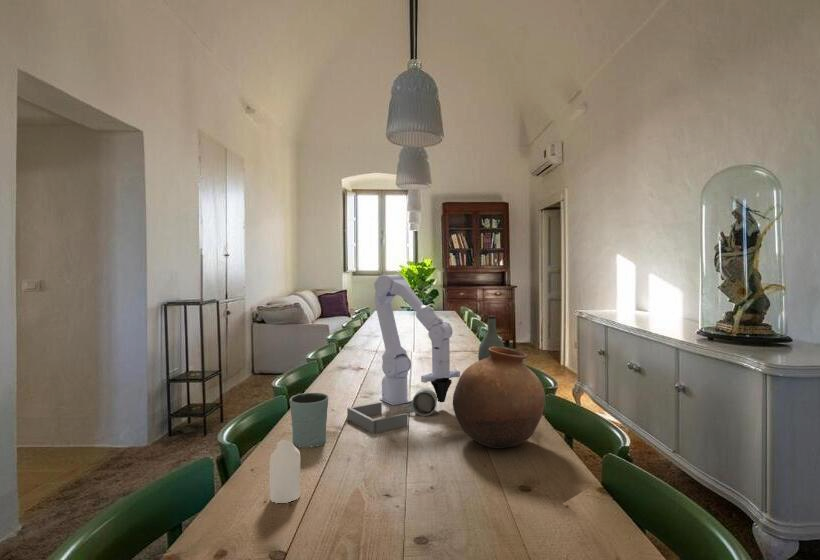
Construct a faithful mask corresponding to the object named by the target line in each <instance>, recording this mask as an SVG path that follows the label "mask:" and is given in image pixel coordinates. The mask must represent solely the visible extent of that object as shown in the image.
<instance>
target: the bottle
mask: <svg viewBox="0 0 820 560" xmlns="http://www.w3.org/2000/svg"><path fill="white" fill-rule="evenodd" d="M496 317H497V316H496V315H493V314H491V315H490V314H489V315H487V333H486V334H485V336H484V337H483V339H482V340H481V342H480V344H479V346H478V353H477V357H478V361H480V360H483V359H485V358H488V357H490V356H491V353H490V352H489V350H488V349H489V348H490V347H502V348H506V347H505V344H504V342H503V341H502V340H501V338H500V336H499V335H498V332H497V330H496V329H497V326H496V325H497V323H496V321H497V319H496Z"/></svg>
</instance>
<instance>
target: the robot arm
mask: <svg viewBox="0 0 820 560" xmlns="http://www.w3.org/2000/svg"><path fill="white" fill-rule="evenodd" d="M373 285H374V289H375V292H374V304H375V310H376V315H377V318H378V323H379V326H380V331H381V335H382V340H383V343H384V349H385V350H384V352H383V354H382V356H381V358H382V363H381V364H382V365H381V369H382V372H383V374H384V376H383V377H382V379H381V397H380V398H379V400H380V401H382V402H385V403H387V404H390V405H391V406H397V405H398V406H399V405H402V404H407V403H408V404H409V403H412V400H413V399H410V398H408V394H409V393H408V375H409V371H410V369H411V367H412V360H411V359H410V357H409V356H408V354H407V351H406V349H405V348H403V346H401V341H400V337H399V332H398V328H397V323H396V320H395V319H396V318H395V315H394V310H393V306H392V302H393V301H394V298H395V297H397V296H400V297H401V298H402V299H403V300H404V301H405V303H407V304H408V305H409V306H410V307H411V308H412V309H413V310H414V311H415V314H416V315H415V318H416V319H417V320H418V321H419V323H420V324H422V326H423V327H424V328H425V329H426V330H427V333H428V338H429V339H430V341H431V373H427V374H424V375H421V376H420V379H421V381H420V382H421V383H424V384H426V383H428V382H429V383H431V385H432V386H433V390H434V391H435V392H434V393H435V394H436V397H437V402H439V403H446V397H447V393H448V391H449V388H450V387H451V385H452V379H453V378H460V376H461V371H460V370H456V369H455V370H451V369H450V368H451V367H450V365H451V363H450V360H451V359H450V358H451V356H450V355H451V353H450V348H451V347H450V339H451V338H452V336H453V327H452V326H451V324H450V323H449V322H446V321H444V320H443V318H440V316H439V315H438V314H437V313H436V311H435V309H434V307H433V306H430V305H425V304H423V302H422V300H421V299H420V298H419V297H418V295H417V294H416V293H415V292H414V290H413V289H412V287H411V286H410V285H409V282H408V280H407V279H405V278H404V276H403V275H402V274H399V273H396V274H380V275H379V276H378V277H377V278H376V280H375V282H374V283H373Z"/></svg>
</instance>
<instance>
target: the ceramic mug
mask: <svg viewBox="0 0 820 560" xmlns="http://www.w3.org/2000/svg"><path fill="white" fill-rule="evenodd" d="M411 400H412V402H409V403H408V404H407V405H405V406H404V407H403V411H404V413H406V414H408V413H412V412H415V414H417V415H418V416H421V417H426V416H431V415H432V414H433V413H434V412H435V411H436V408H437V402H438V399H437V395H436V392H434V390H432V389H431V388H428V387H427V388H426V387H422V388H420V389H419V390H418V391H416V393H415V395H414V396H413V398H412V399H411Z"/></svg>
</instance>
